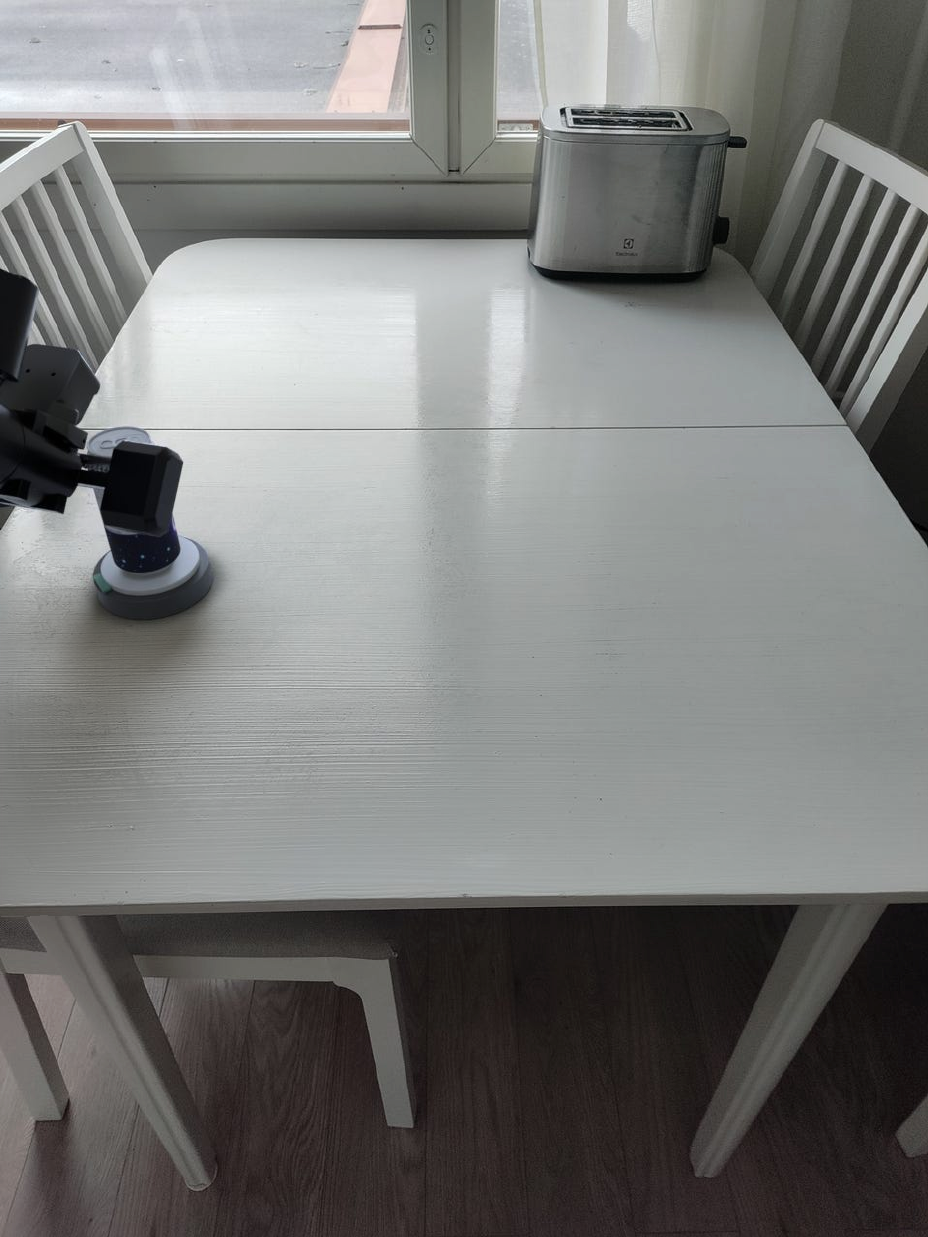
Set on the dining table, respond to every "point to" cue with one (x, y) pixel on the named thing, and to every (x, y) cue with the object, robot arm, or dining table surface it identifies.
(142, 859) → the dining table surface
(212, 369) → the dining table surface
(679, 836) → the dining table surface
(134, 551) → the beverage can
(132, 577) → the kitchen scale
